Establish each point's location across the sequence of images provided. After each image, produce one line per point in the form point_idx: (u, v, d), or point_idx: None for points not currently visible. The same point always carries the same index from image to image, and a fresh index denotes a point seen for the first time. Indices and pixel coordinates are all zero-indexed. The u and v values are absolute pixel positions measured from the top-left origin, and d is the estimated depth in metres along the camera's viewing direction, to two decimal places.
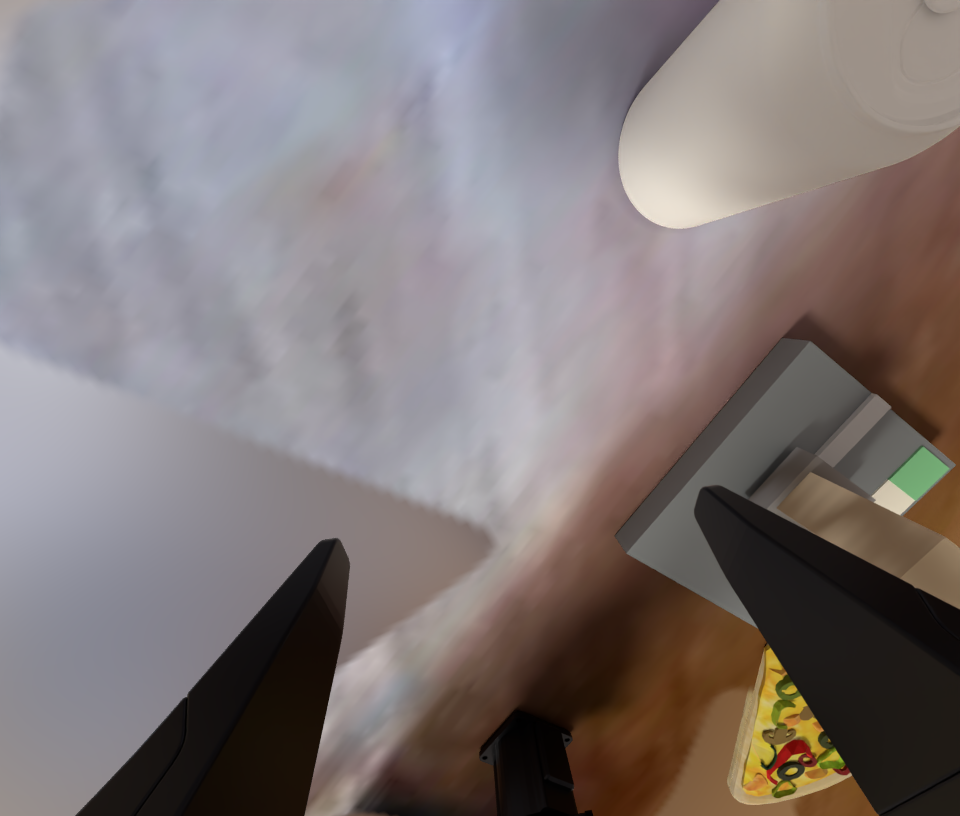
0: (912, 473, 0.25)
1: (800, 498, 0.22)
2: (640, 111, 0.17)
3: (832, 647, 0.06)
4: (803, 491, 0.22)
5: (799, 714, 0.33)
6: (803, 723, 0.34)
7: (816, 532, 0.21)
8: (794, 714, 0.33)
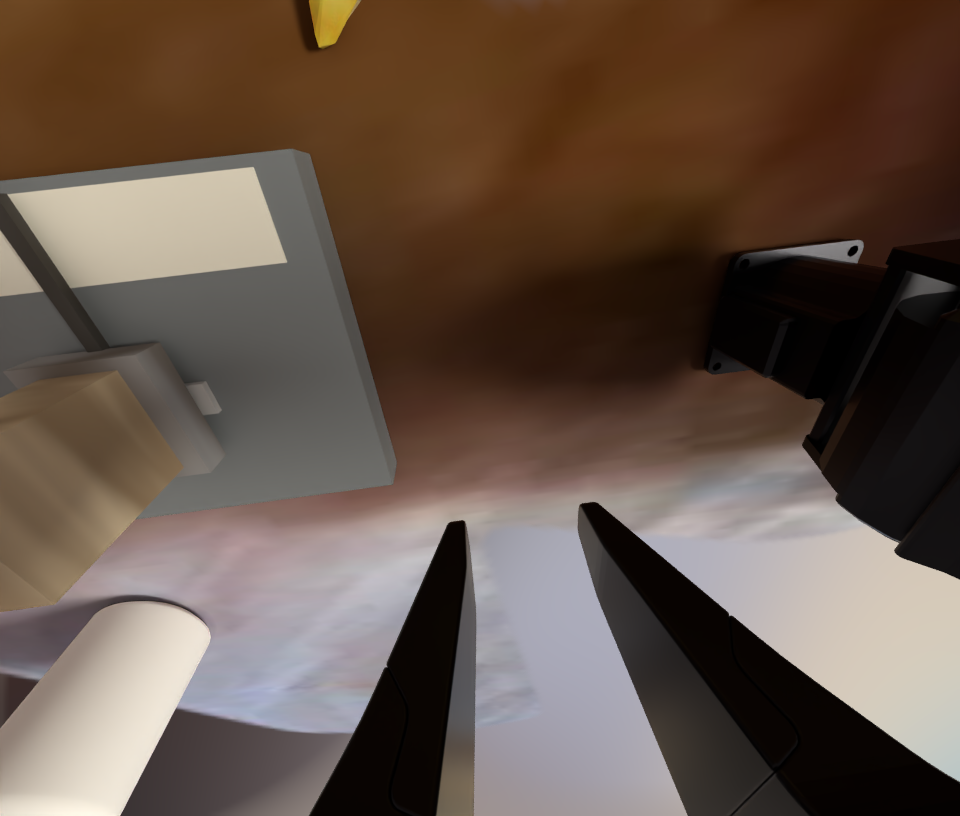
0: None
1: None
2: None
3: (659, 674, 0.06)
4: None
5: None
6: None
7: (141, 510, 0.14)
8: None
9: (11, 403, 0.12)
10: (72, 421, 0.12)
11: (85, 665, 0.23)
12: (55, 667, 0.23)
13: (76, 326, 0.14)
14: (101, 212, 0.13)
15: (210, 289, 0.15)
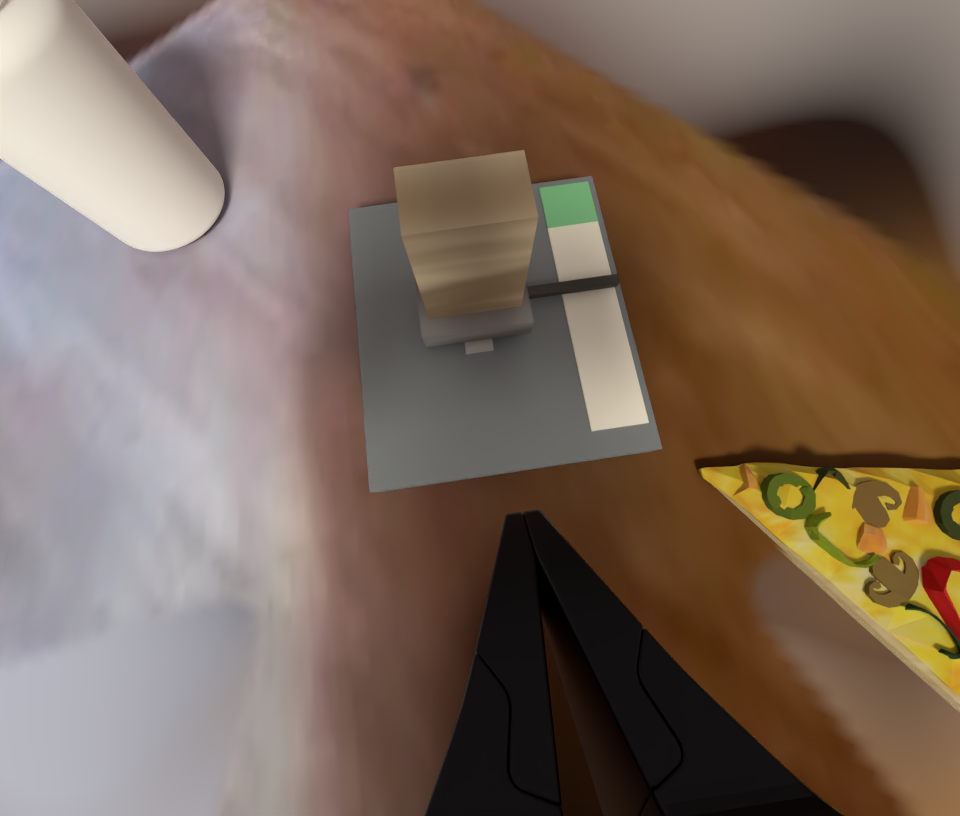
0: (564, 208, 0.23)
1: None
2: None
3: (578, 686, 0.06)
4: None
5: (865, 522, 0.19)
6: (891, 530, 0.19)
7: (420, 291, 0.17)
8: (861, 528, 0.19)
9: None
10: (510, 281, 0.17)
11: (173, 148, 0.21)
12: (175, 123, 0.22)
13: (541, 288, 0.21)
14: (610, 328, 0.21)
15: (567, 374, 0.21)
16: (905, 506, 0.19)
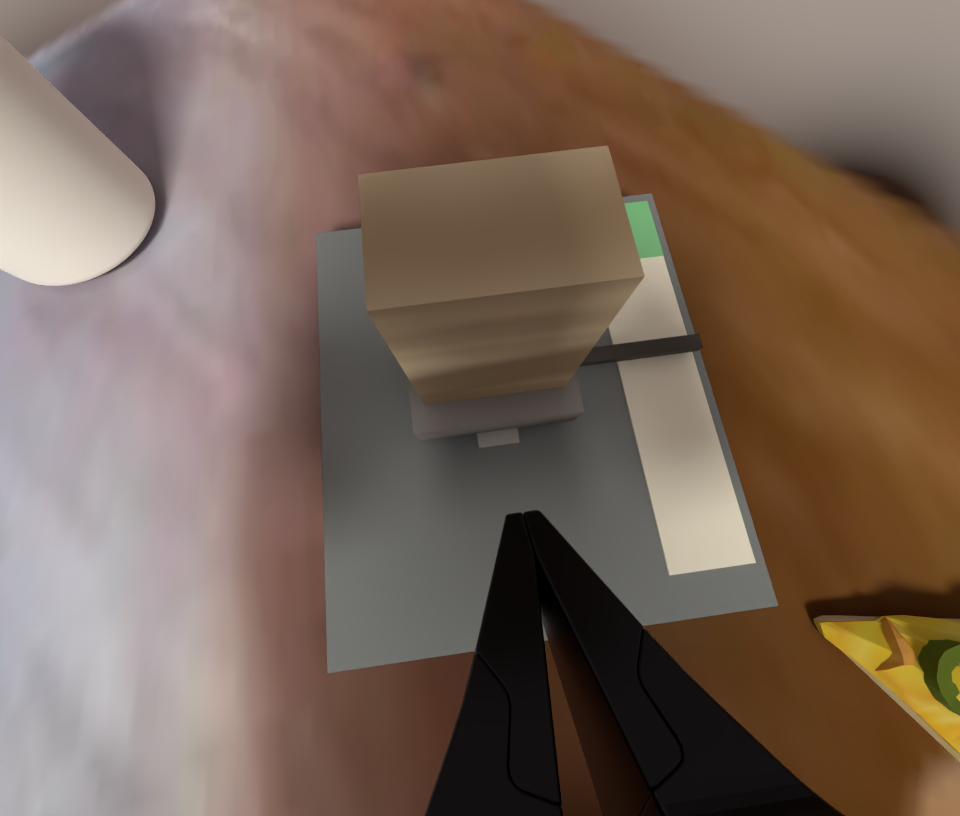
0: None
1: None
2: None
3: (578, 686, 0.06)
4: None
5: None
6: None
7: None
8: None
9: None
10: (559, 362, 0.10)
11: (61, 145, 0.15)
12: (72, 111, 0.15)
13: (589, 353, 0.14)
14: (689, 412, 0.14)
15: (628, 483, 0.14)
16: None
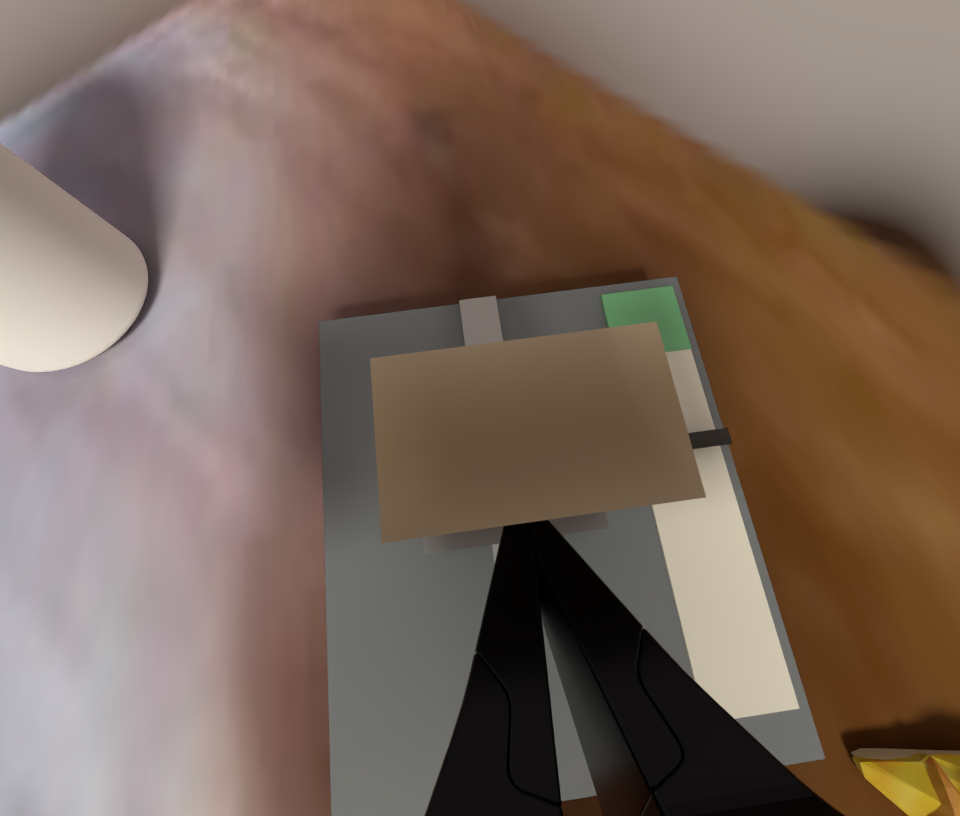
0: None
1: None
2: None
3: (578, 686, 0.06)
4: None
5: None
6: None
7: None
8: None
9: None
10: None
11: (44, 240, 0.14)
12: (57, 198, 0.14)
13: None
14: (723, 530, 0.13)
15: (657, 612, 0.13)
16: None
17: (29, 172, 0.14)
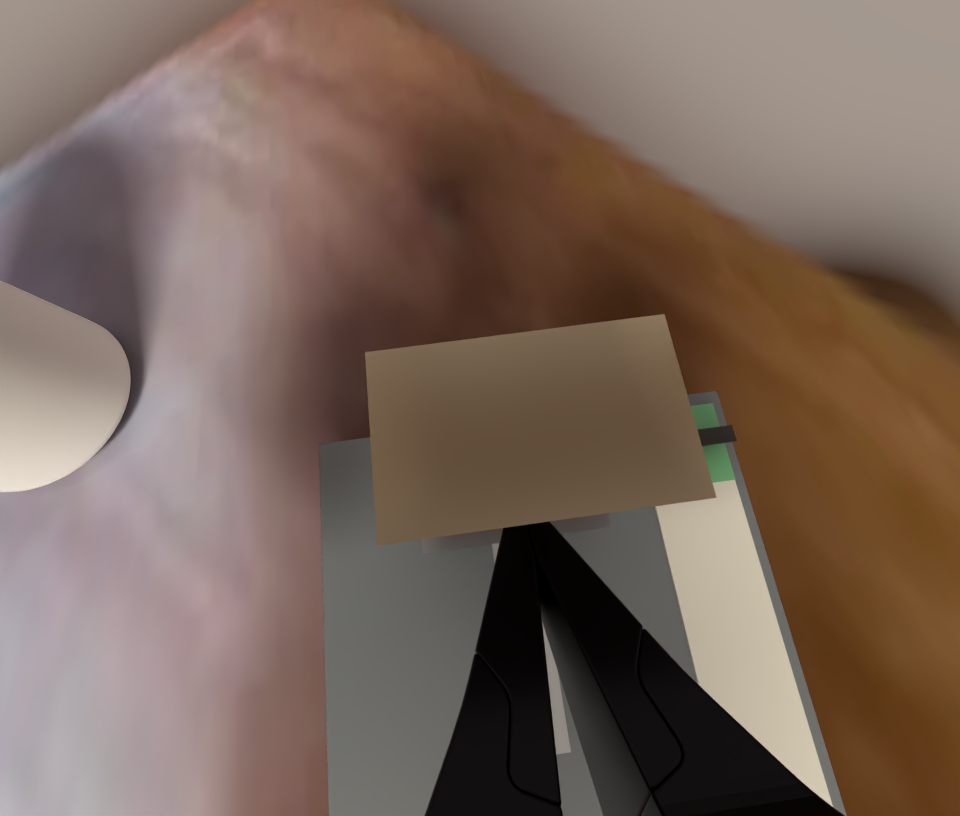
0: None
1: None
2: None
3: (578, 686, 0.06)
4: None
5: None
6: None
7: None
8: None
9: None
10: None
11: (6, 373, 0.12)
12: (22, 318, 0.13)
13: None
14: (776, 704, 0.12)
15: None
16: None
17: None
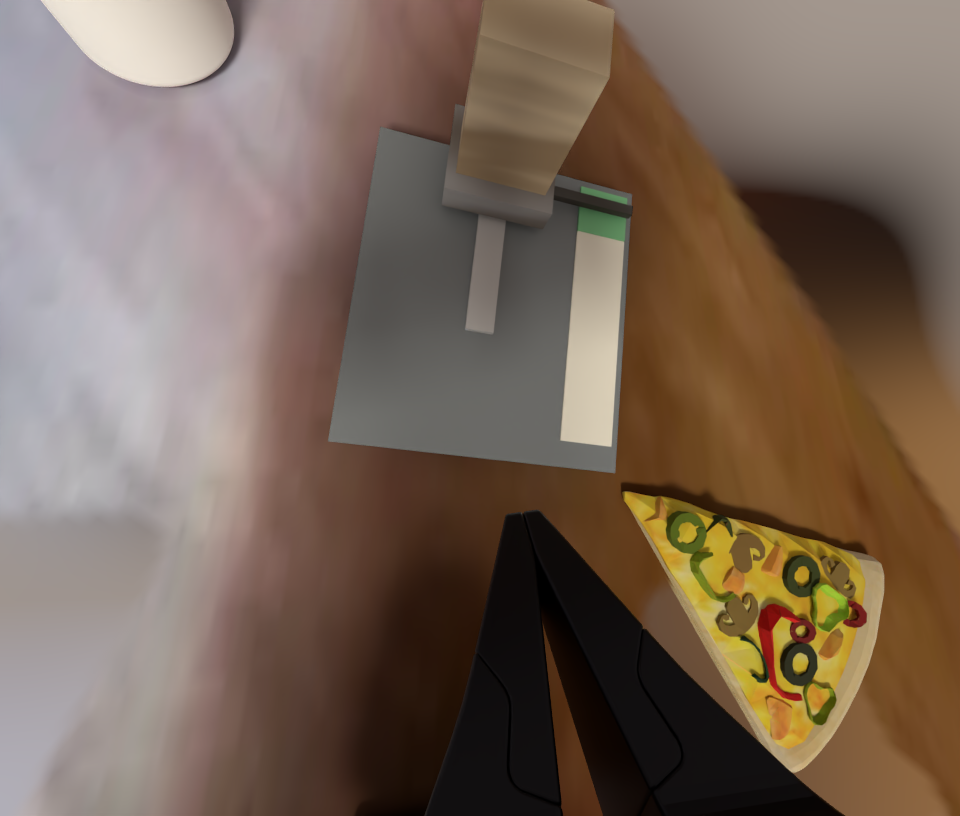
0: (597, 217, 0.23)
1: (460, 140, 0.18)
2: None
3: (578, 686, 0.06)
4: None
5: (734, 566, 0.23)
6: (750, 577, 0.23)
7: (463, 127, 0.16)
8: (729, 570, 0.23)
9: None
10: (550, 155, 0.17)
11: None
12: None
13: (564, 192, 0.21)
14: (604, 349, 0.22)
15: (553, 380, 0.21)
16: (766, 560, 0.23)
17: None
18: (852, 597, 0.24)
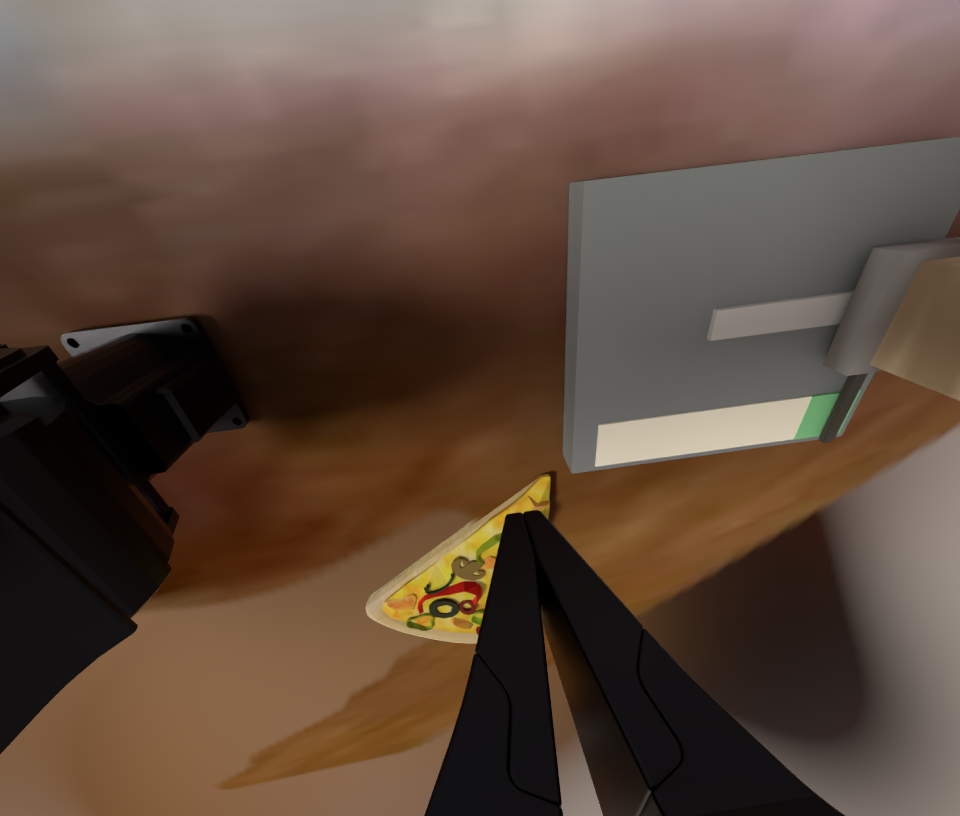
0: (823, 411, 0.22)
1: None
2: None
3: (578, 686, 0.06)
4: None
5: None
6: None
7: None
8: None
9: None
10: (936, 373, 0.16)
11: None
12: None
13: (861, 377, 0.20)
14: (686, 444, 0.23)
15: (656, 407, 0.21)
16: None
17: None
18: None
